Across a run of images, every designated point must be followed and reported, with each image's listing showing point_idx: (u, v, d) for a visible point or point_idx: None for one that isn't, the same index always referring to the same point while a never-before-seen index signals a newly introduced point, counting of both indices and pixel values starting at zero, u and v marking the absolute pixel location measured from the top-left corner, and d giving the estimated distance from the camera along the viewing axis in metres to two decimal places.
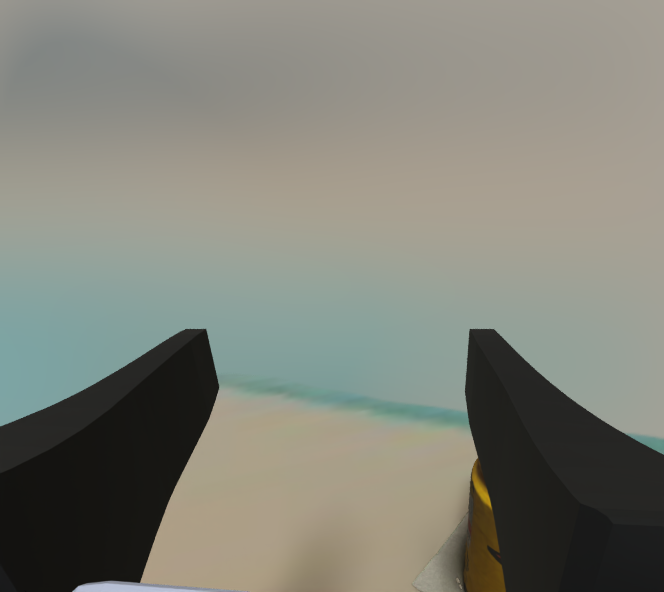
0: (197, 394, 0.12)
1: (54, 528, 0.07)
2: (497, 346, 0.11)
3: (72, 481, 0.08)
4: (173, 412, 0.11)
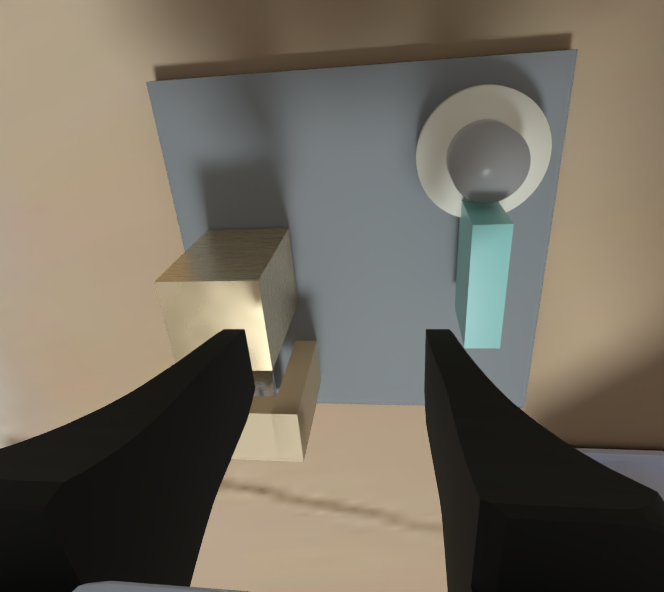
0: (237, 395, 0.12)
1: (119, 532, 0.07)
2: (447, 346, 0.11)
3: (134, 484, 0.08)
4: (217, 413, 0.11)
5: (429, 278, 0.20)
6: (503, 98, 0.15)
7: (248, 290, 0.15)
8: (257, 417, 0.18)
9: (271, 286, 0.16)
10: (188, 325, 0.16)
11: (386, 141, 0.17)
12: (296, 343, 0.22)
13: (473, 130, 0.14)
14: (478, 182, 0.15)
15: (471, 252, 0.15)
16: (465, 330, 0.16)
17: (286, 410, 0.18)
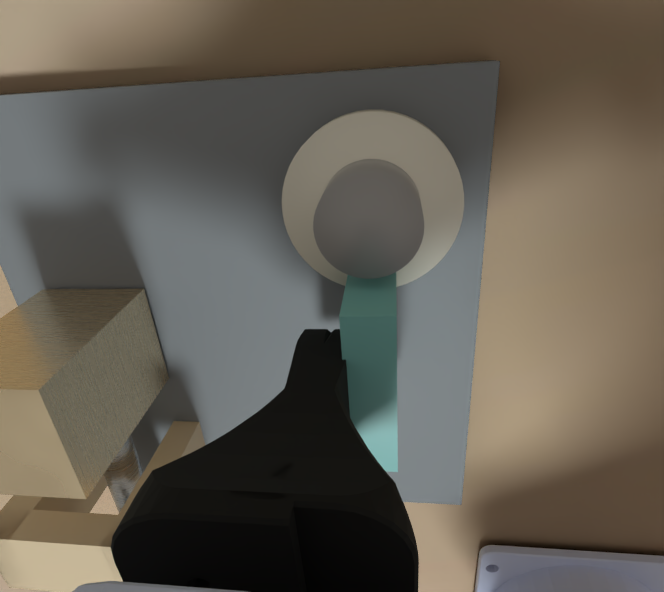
0: None
1: None
2: (312, 345, 0.11)
3: None
4: None
5: None
6: (391, 130, 0.11)
7: (28, 401, 0.11)
8: (83, 548, 0.13)
9: (85, 383, 0.12)
10: None
11: (254, 182, 0.13)
12: (173, 425, 0.17)
13: (340, 179, 0.10)
14: (354, 251, 0.10)
15: (343, 351, 0.10)
16: None
17: None
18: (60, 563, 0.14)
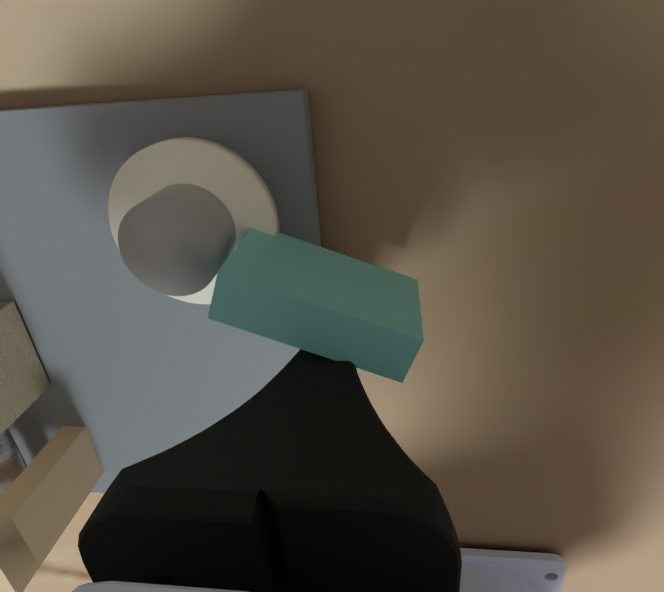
0: None
1: None
2: None
3: None
4: None
5: (194, 362, 0.16)
6: (125, 188, 0.12)
7: None
8: None
9: None
10: None
11: (99, 202, 0.14)
12: (60, 430, 0.18)
13: None
14: (188, 269, 0.11)
15: (248, 329, 0.10)
16: (373, 370, 0.10)
17: None
18: None
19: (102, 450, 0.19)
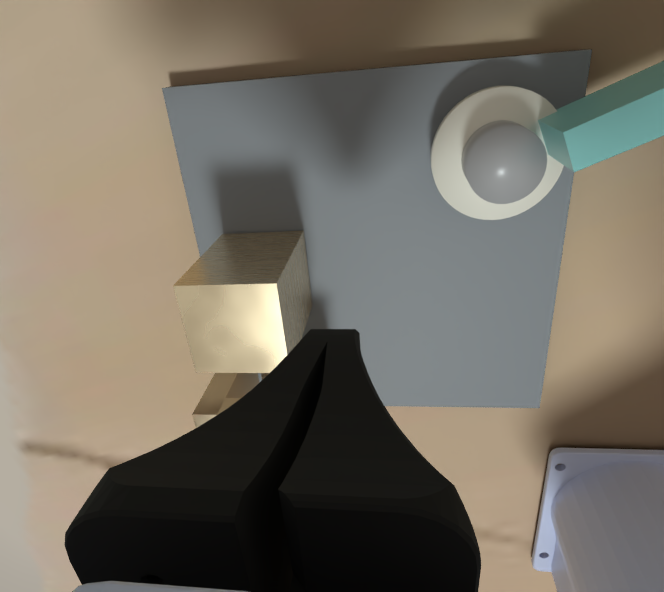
0: None
1: (270, 542, 0.07)
2: (343, 345, 0.11)
3: (277, 491, 0.07)
4: None
5: (444, 279, 0.20)
6: (441, 166, 0.16)
7: (267, 292, 0.15)
8: None
9: (288, 289, 0.17)
10: (206, 328, 0.16)
11: (400, 143, 0.17)
12: None
13: (478, 195, 0.15)
14: (526, 168, 0.15)
15: (607, 156, 0.13)
16: None
17: None
18: None
19: None
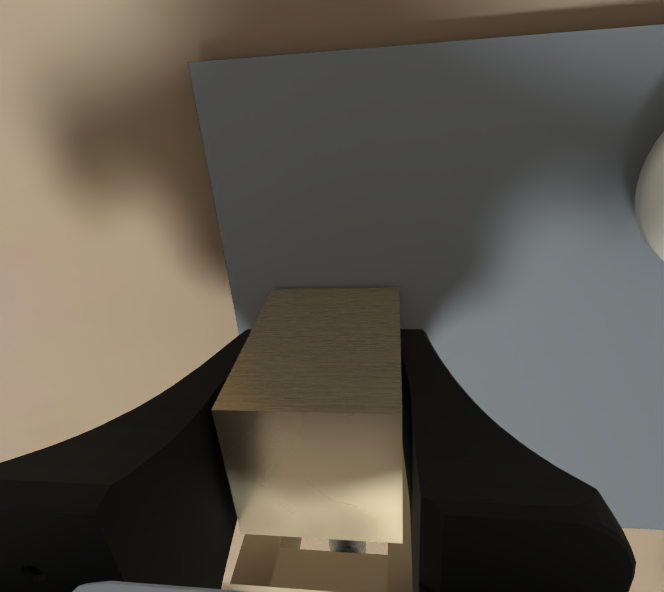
0: None
1: (159, 534, 0.07)
2: (417, 345, 0.11)
3: (172, 486, 0.08)
4: None
5: (607, 361, 0.13)
6: None
7: (382, 428, 0.08)
8: None
9: None
10: (266, 475, 0.09)
11: (576, 158, 0.11)
12: None
13: None
14: None
15: None
16: None
17: (410, 588, 0.11)
18: None
19: None
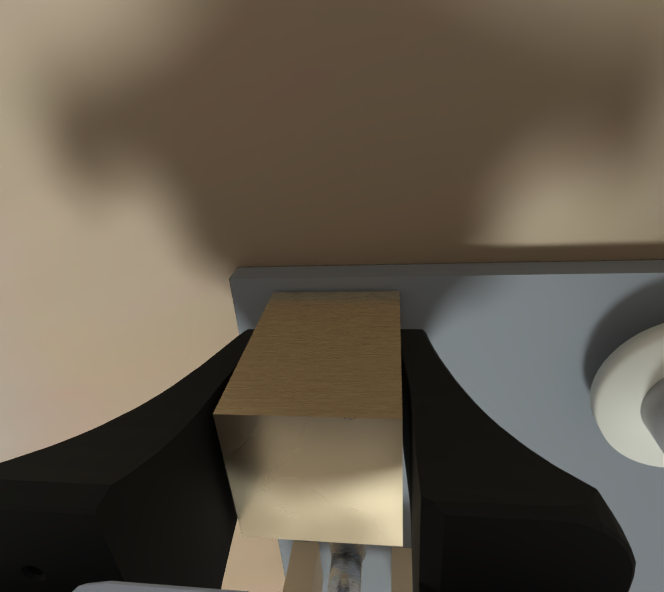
0: None
1: (160, 535, 0.07)
2: (417, 346, 0.11)
3: (173, 486, 0.08)
4: None
5: None
6: (612, 409, 0.12)
7: (382, 432, 0.09)
8: None
9: None
10: (267, 478, 0.09)
11: (543, 357, 0.13)
12: (393, 553, 0.18)
13: None
14: None
15: None
16: None
17: None
18: None
19: None
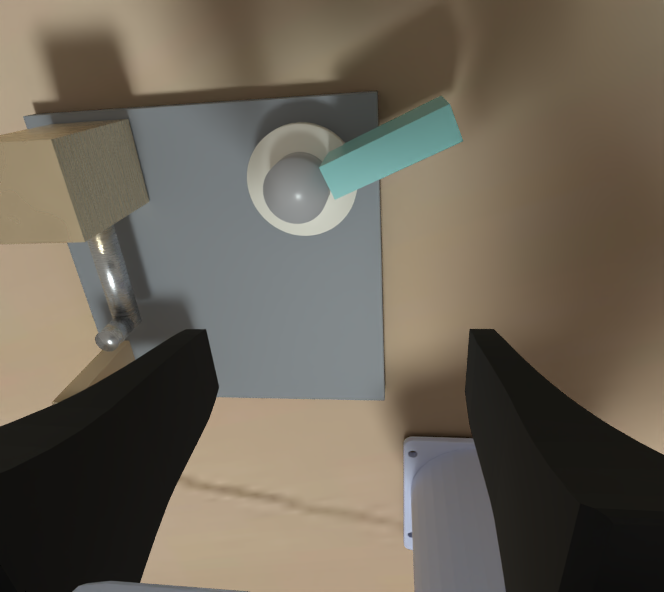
0: (197, 394, 0.12)
1: (54, 528, 0.07)
2: (497, 346, 0.11)
3: (72, 481, 0.08)
4: (173, 412, 0.11)
5: (285, 285, 0.22)
6: (256, 190, 0.19)
7: (44, 150, 0.15)
8: None
9: (83, 158, 0.17)
10: None
11: (231, 168, 0.20)
12: None
13: None
14: (311, 194, 0.17)
15: (359, 187, 0.16)
16: (441, 150, 0.15)
17: None
18: None
19: None
